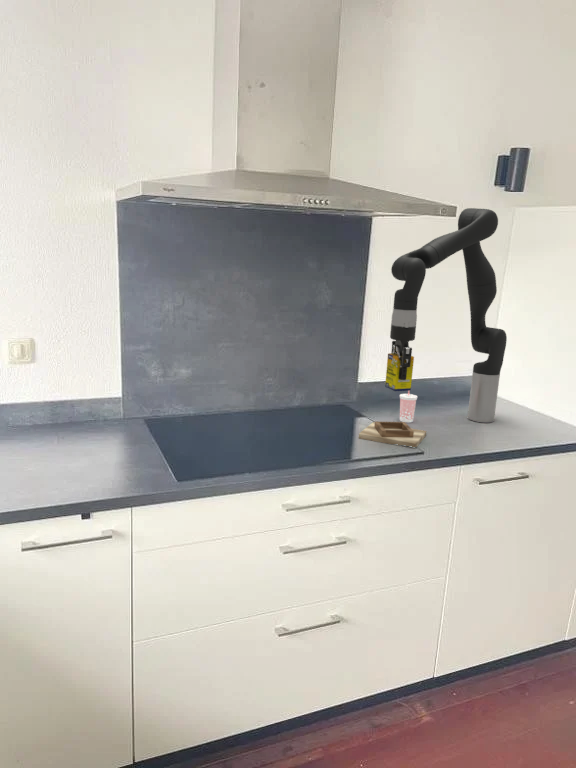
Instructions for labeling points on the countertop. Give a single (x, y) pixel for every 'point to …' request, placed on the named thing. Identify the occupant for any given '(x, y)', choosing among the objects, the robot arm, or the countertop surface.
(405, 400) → the beverage cup
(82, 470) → the countertop surface
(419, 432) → the socket board
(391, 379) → the supplement box
